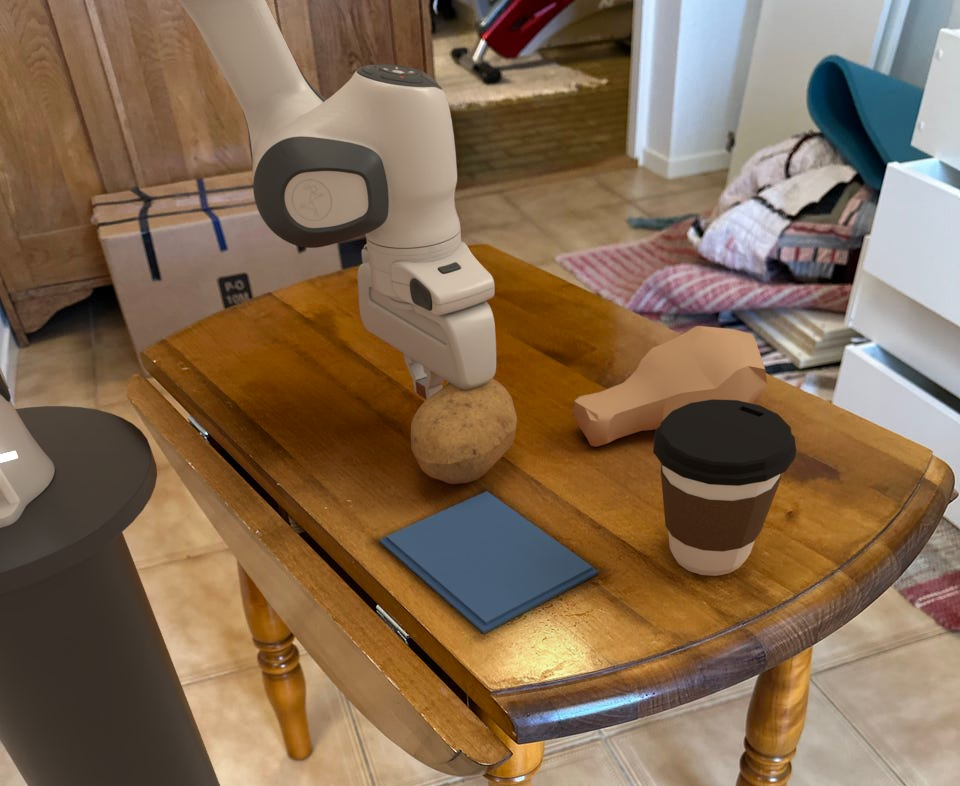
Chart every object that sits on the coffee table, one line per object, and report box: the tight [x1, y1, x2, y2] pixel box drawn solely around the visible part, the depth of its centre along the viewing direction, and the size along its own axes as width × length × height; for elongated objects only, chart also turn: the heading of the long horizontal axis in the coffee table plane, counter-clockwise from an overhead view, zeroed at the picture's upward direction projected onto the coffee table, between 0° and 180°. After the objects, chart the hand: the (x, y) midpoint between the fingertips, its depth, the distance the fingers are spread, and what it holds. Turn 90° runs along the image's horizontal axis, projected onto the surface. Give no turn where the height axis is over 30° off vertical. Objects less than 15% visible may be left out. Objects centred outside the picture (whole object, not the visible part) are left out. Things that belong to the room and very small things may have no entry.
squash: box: [572, 325, 768, 448], centre depth 93 cm, size 11×20×9 cm, turn 109°
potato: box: [410, 377, 518, 485], centre depth 89 cm, size 10×14×8 cm
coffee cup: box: [652, 399, 797, 577], centre depth 75 cm, size 11×11×12 cm
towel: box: [378, 490, 599, 635], centre depth 81 cm, size 12×16×1 cm
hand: (428, 396), depth 97 cm, fingers closed
